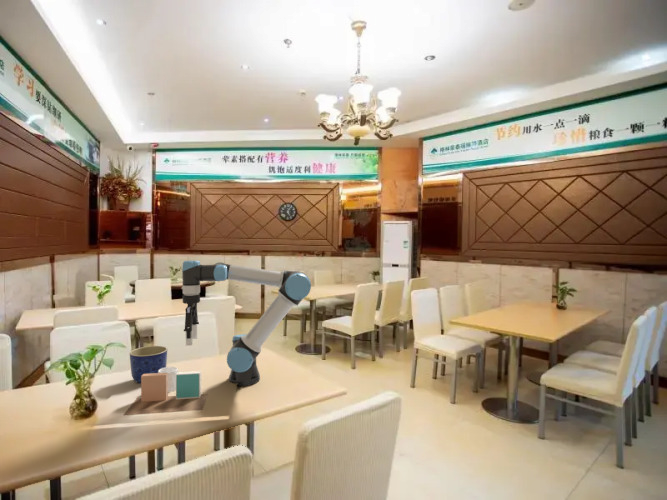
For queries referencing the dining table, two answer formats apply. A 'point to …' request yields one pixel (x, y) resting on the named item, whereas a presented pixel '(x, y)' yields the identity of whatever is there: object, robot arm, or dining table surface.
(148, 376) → the tile plain
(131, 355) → the planter
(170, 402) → the board
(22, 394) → the dining table surface
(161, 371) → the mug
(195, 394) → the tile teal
